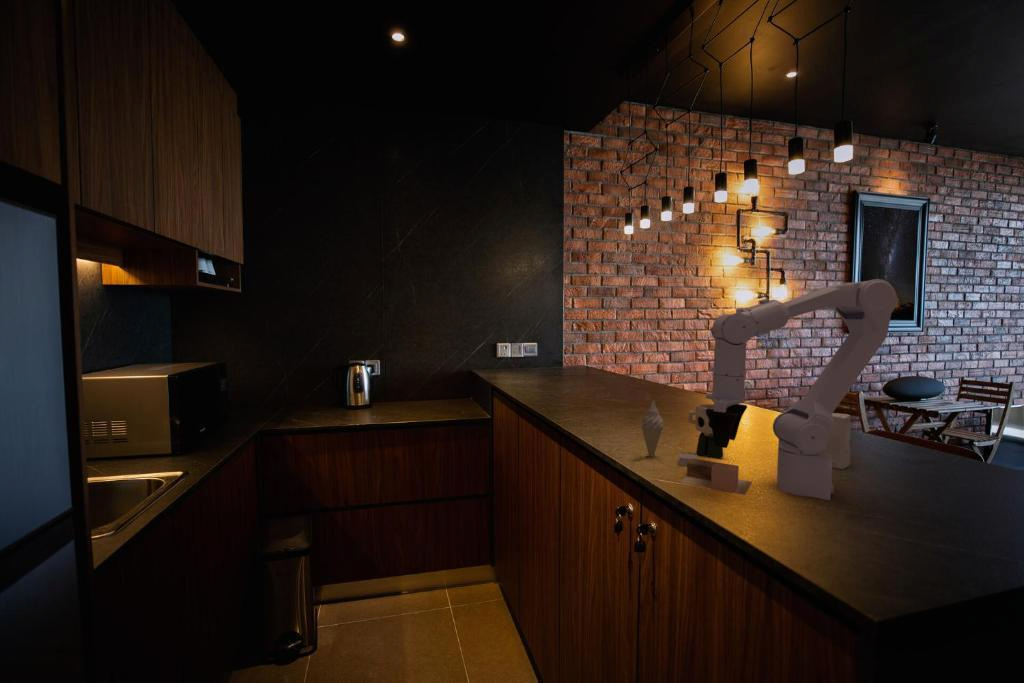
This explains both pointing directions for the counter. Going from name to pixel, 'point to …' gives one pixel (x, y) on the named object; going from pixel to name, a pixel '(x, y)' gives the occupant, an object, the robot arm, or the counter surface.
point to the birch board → (741, 489)
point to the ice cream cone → (652, 428)
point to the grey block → (686, 458)
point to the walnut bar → (700, 469)
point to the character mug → (705, 432)
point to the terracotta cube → (724, 477)
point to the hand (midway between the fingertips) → (725, 442)
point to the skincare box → (839, 441)
